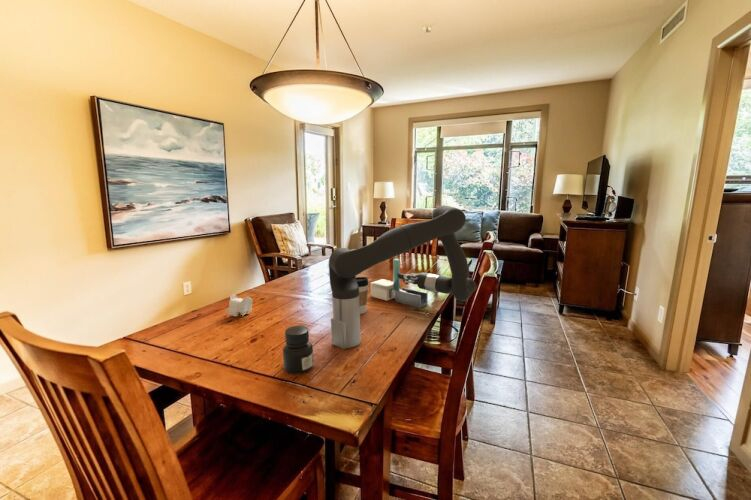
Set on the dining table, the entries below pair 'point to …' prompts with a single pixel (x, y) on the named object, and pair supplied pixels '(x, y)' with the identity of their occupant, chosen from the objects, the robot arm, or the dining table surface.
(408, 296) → the sleeve
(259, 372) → the dining table surface
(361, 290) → the coffee cup
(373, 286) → the socket
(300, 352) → the ink bottle
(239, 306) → the elephant figurine
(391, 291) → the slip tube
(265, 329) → the dining table surface
